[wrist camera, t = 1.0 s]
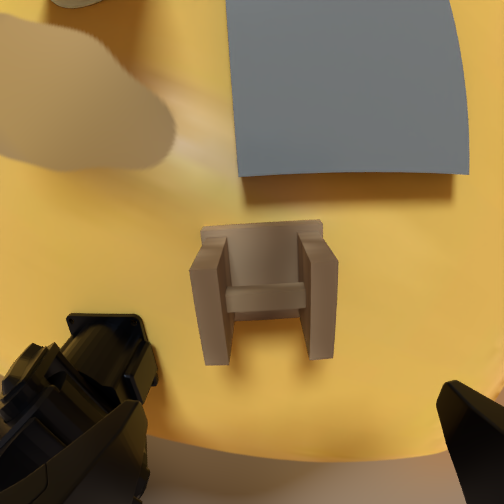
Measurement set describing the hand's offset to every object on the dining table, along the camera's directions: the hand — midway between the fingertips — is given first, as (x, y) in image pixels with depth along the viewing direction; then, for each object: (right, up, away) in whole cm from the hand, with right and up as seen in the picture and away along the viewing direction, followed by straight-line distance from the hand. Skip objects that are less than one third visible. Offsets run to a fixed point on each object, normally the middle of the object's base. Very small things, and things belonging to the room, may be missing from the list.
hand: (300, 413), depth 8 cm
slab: (+4, +16, +8) cm, 18 cm away
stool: (-1, +3, +12) cm, 13 cm away
